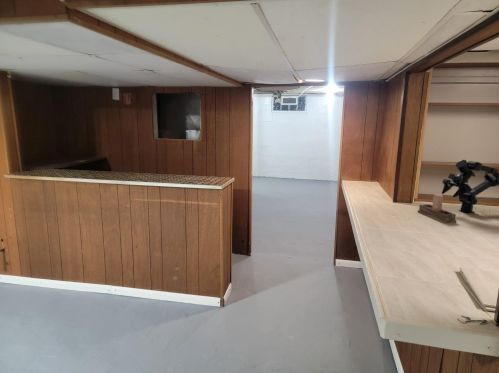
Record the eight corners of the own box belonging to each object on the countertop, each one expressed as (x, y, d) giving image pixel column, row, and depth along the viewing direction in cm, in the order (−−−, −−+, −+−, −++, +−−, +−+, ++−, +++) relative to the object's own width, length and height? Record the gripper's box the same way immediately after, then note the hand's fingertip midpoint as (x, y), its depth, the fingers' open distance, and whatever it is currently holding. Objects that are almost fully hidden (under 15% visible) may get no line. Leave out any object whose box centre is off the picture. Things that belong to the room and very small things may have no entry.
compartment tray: (430, 211, 214) (430, 204, 213) (456, 222, 191) (457, 214, 190) (417, 211, 213) (418, 204, 212) (442, 222, 190) (443, 214, 189)
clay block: (435, 213, 204) (438, 194, 201) (440, 215, 200) (443, 195, 197) (431, 214, 204) (433, 194, 201) (436, 216, 199) (438, 196, 197)
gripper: (446, 167, 213) (430, 184, 213) (469, 171, 195) (452, 190, 195) (455, 177, 216) (439, 194, 216) (479, 183, 198) (462, 201, 199)
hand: (447, 195), depth 207 cm, fingers open, 9 cm apart
